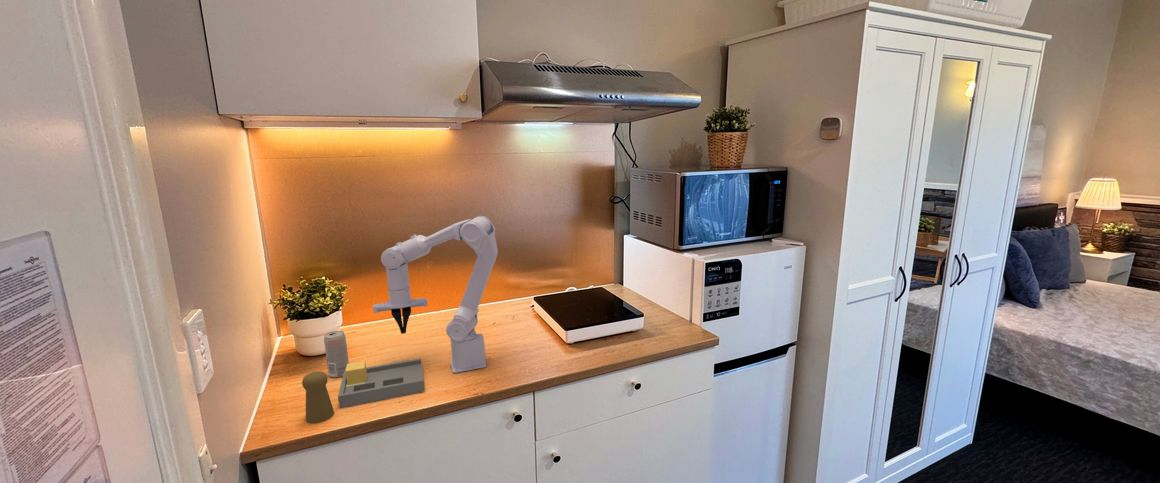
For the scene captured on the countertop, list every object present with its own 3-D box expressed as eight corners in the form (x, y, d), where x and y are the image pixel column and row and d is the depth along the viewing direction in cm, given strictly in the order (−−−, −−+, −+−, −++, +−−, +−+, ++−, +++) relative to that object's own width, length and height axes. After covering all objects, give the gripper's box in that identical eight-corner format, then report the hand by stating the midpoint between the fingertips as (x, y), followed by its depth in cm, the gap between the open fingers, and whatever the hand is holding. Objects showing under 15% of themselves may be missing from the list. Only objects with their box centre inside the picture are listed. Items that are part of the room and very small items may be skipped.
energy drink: (344, 367, 136) (339, 329, 134) (353, 372, 133) (348, 333, 130) (325, 374, 132) (320, 335, 130) (334, 380, 129) (328, 339, 126)
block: (367, 374, 128) (365, 360, 127) (366, 381, 124) (364, 368, 123) (348, 377, 126) (347, 363, 125) (347, 385, 122) (345, 371, 121)
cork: (310, 411, 114) (304, 369, 112) (337, 407, 115) (331, 366, 113) (301, 425, 108) (295, 382, 106) (330, 421, 110) (324, 378, 107)
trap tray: (421, 368, 135) (420, 358, 134) (424, 391, 122) (423, 380, 121) (345, 382, 128) (343, 371, 127) (339, 408, 115) (337, 396, 114)
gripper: (424, 280, 139) (428, 323, 142) (372, 287, 134) (377, 331, 137) (426, 287, 133) (430, 332, 136) (370, 294, 128) (376, 340, 131)
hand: (403, 332), depth 136 cm, fingers closed
